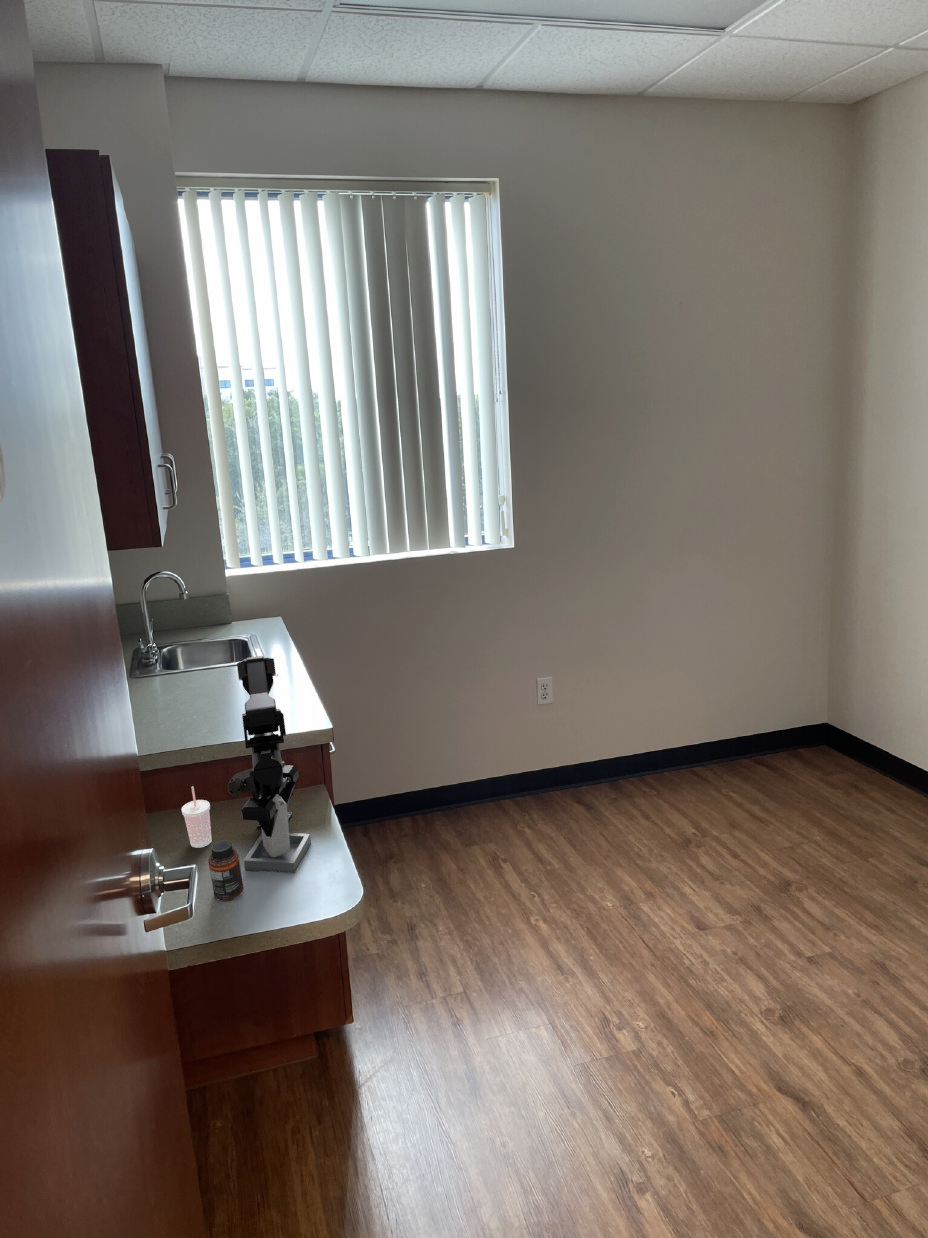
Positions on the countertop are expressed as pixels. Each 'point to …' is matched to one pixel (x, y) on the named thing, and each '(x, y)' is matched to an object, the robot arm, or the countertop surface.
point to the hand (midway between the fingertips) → (275, 826)
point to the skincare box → (278, 831)
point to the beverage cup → (198, 821)
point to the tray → (284, 863)
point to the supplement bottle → (225, 871)
